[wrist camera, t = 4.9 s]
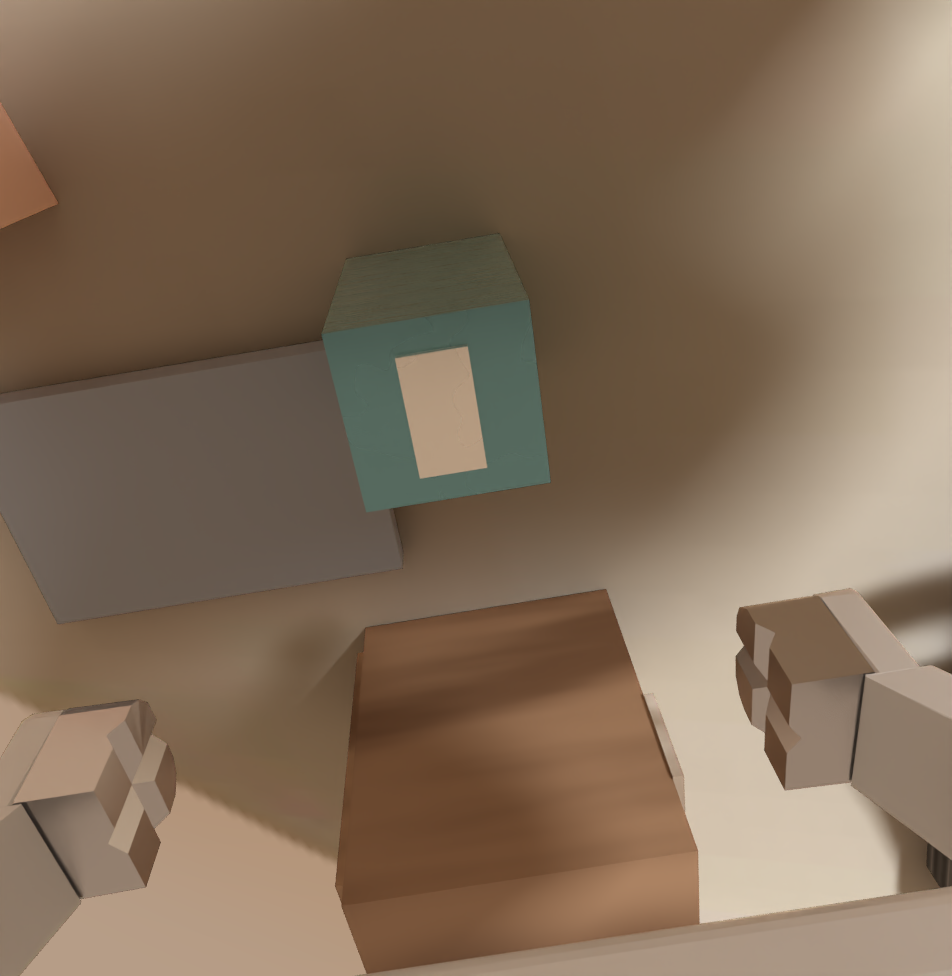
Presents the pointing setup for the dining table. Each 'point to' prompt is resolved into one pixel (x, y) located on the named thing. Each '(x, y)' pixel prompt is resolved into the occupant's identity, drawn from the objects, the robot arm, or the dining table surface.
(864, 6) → the dining table surface
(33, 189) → the block
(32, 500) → the felt pad
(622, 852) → the block
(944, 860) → the zipper pull
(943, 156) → the dining table surface
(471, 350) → the block
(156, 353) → the dining table surface
